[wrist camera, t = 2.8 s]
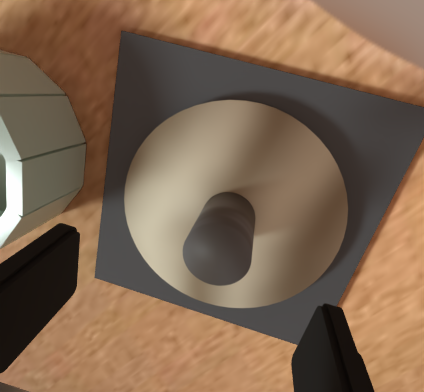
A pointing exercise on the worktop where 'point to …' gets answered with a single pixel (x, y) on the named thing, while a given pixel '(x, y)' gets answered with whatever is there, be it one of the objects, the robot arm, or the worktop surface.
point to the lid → (236, 204)
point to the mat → (275, 97)
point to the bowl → (35, 148)
